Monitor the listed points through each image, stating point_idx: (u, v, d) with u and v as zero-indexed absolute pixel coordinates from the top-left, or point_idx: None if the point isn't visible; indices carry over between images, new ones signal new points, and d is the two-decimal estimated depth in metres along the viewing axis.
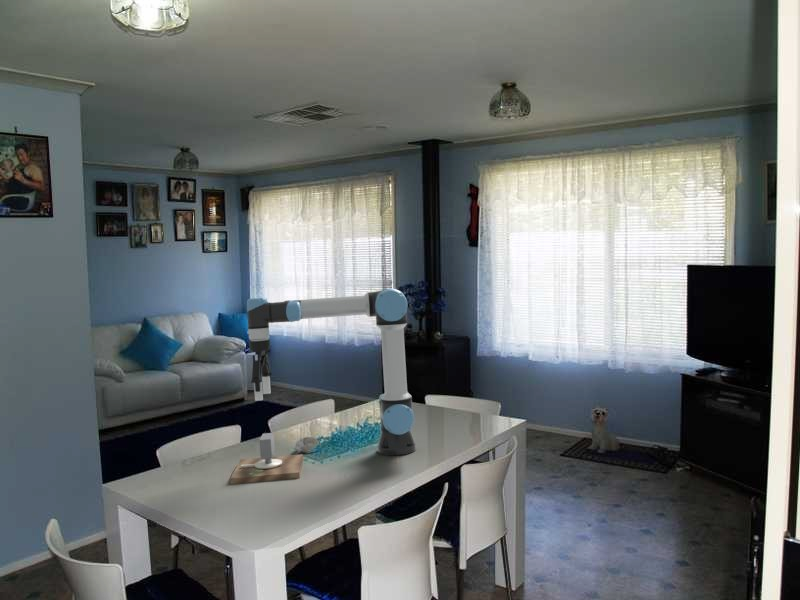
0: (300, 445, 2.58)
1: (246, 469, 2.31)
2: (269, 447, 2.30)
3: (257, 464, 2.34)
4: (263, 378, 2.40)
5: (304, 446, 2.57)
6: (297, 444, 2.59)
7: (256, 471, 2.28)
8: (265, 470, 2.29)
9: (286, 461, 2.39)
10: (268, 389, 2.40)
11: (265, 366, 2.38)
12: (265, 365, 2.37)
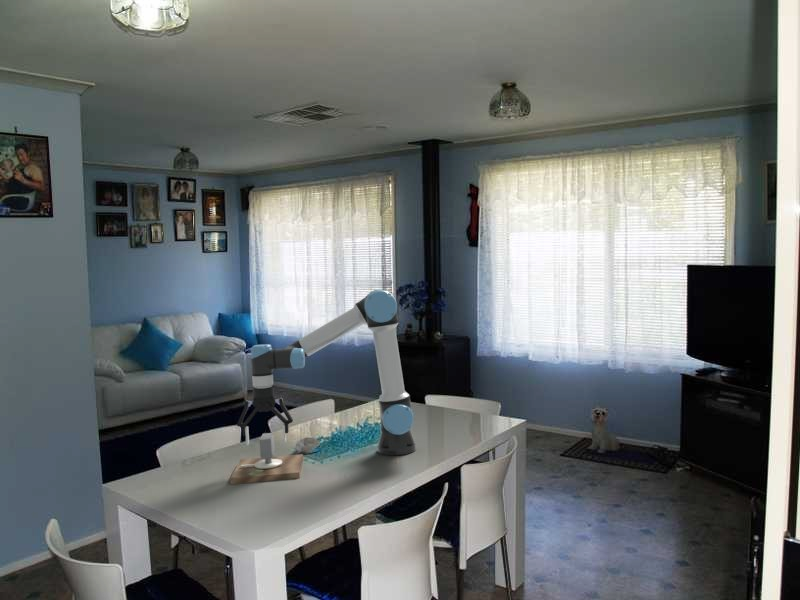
0: (300, 445, 2.58)
1: (246, 469, 2.31)
2: (269, 447, 2.30)
3: (257, 464, 2.34)
4: (283, 425, 2.36)
5: (304, 446, 2.57)
6: (297, 444, 2.58)
7: (256, 471, 2.28)
8: (265, 470, 2.29)
9: (286, 461, 2.39)
10: (283, 438, 2.35)
11: (275, 414, 2.34)
12: (274, 413, 2.34)
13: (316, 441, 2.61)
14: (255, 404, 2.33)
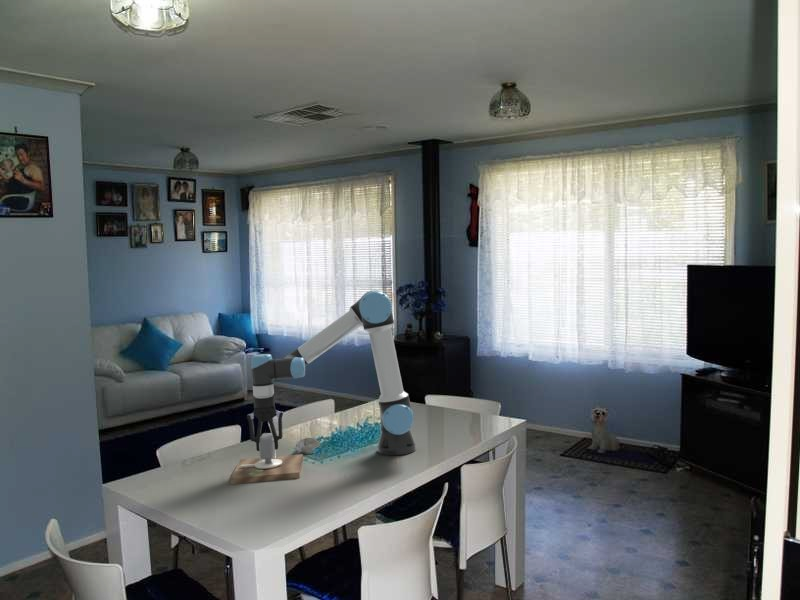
0: (300, 446, 2.57)
1: (246, 469, 2.31)
2: (269, 447, 2.30)
3: (257, 464, 2.34)
4: None
5: (304, 447, 2.56)
6: (297, 445, 2.58)
7: (256, 471, 2.28)
8: (265, 470, 2.29)
9: (286, 461, 2.39)
10: (273, 454, 2.35)
11: (270, 426, 2.34)
12: None
13: (316, 441, 2.60)
14: (257, 414, 2.33)
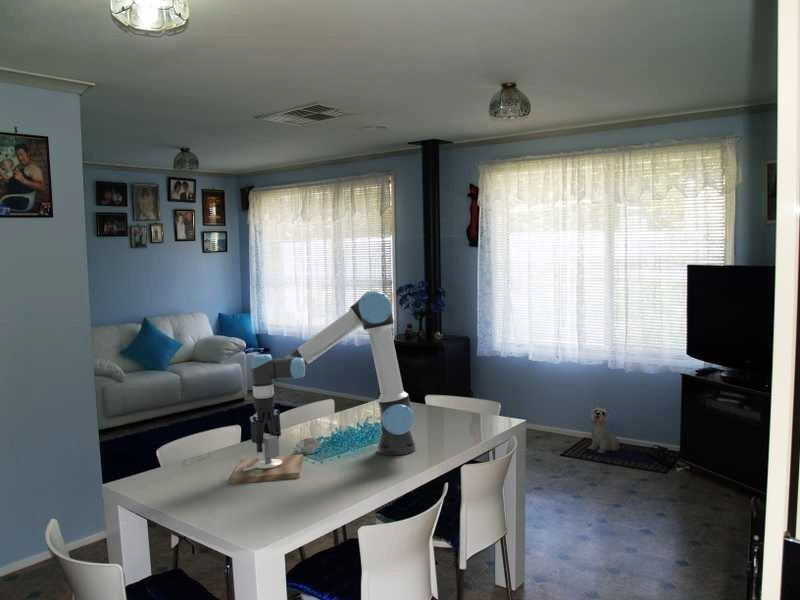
0: (300, 446, 2.57)
1: None
2: (277, 445, 2.32)
3: (260, 465, 2.32)
4: None
5: (304, 447, 2.56)
6: (297, 445, 2.57)
7: (256, 471, 2.28)
8: (265, 470, 2.29)
9: (286, 461, 2.39)
10: None
11: (271, 425, 2.36)
12: (270, 424, 2.36)
13: (316, 442, 2.59)
14: (261, 414, 2.32)
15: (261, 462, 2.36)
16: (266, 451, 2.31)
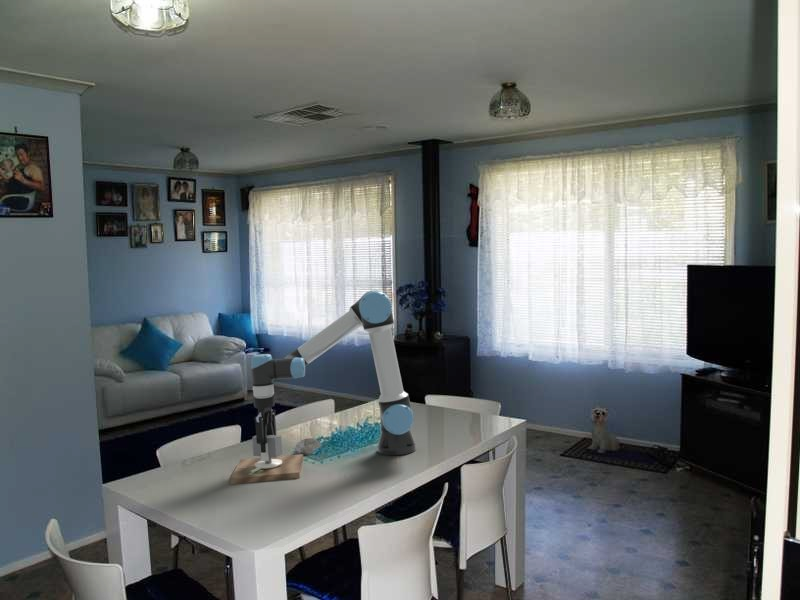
0: (300, 446, 2.56)
1: (246, 469, 2.31)
2: (280, 444, 2.34)
3: (264, 466, 2.31)
4: None
5: (304, 447, 2.55)
6: (297, 445, 2.57)
7: (256, 471, 2.28)
8: (265, 470, 2.29)
9: (286, 461, 2.39)
10: None
11: (269, 425, 2.36)
12: (269, 423, 2.36)
13: (316, 442, 2.59)
14: (264, 414, 2.32)
15: (260, 463, 2.35)
16: (271, 450, 2.32)
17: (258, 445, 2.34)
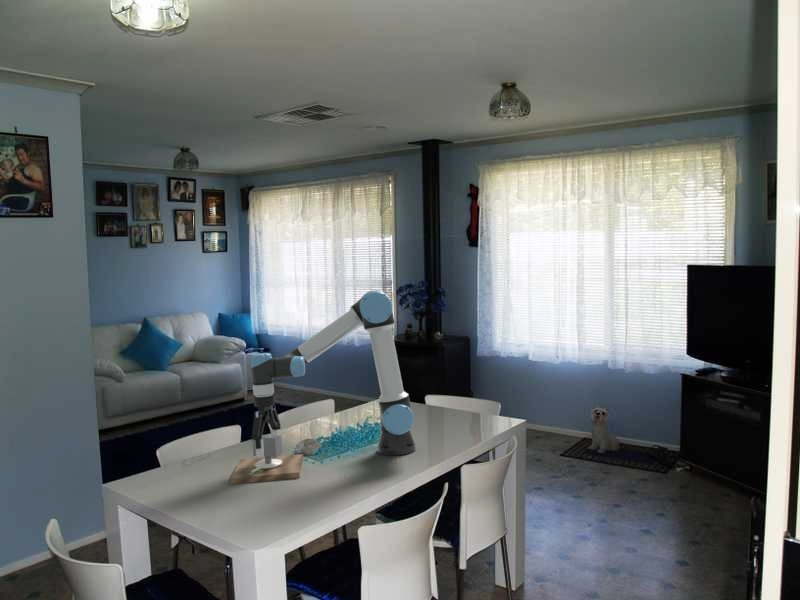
0: (300, 447, 2.56)
1: (246, 469, 2.31)
2: (280, 443, 2.34)
3: (264, 466, 2.31)
4: (271, 431, 2.41)
5: (304, 448, 2.55)
6: (297, 446, 2.56)
7: (256, 471, 2.28)
8: (265, 470, 2.29)
9: (286, 461, 2.39)
10: None
11: (272, 420, 2.38)
12: (272, 419, 2.38)
13: (316, 442, 2.58)
14: (264, 413, 2.31)
15: (260, 463, 2.35)
16: (271, 450, 2.32)
17: None
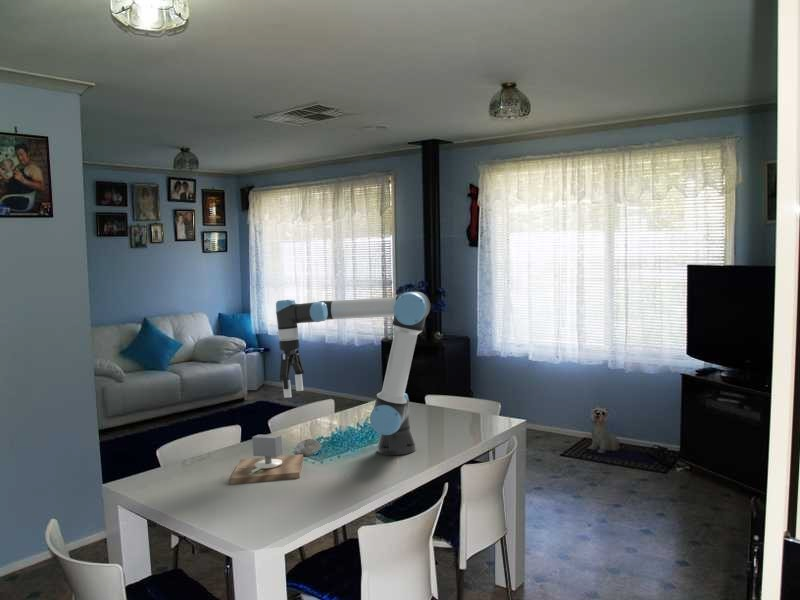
0: (300, 447, 2.55)
1: (246, 469, 2.31)
2: (280, 443, 2.34)
3: (264, 466, 2.31)
4: (296, 376, 2.52)
5: (304, 448, 2.54)
6: (298, 446, 2.56)
7: (256, 471, 2.28)
8: (265, 470, 2.29)
9: (286, 461, 2.39)
10: (300, 387, 2.51)
11: (296, 364, 2.49)
12: (296, 363, 2.48)
13: (317, 443, 2.57)
14: (290, 356, 2.42)
15: (260, 463, 2.35)
16: (271, 450, 2.32)
17: (258, 445, 2.34)
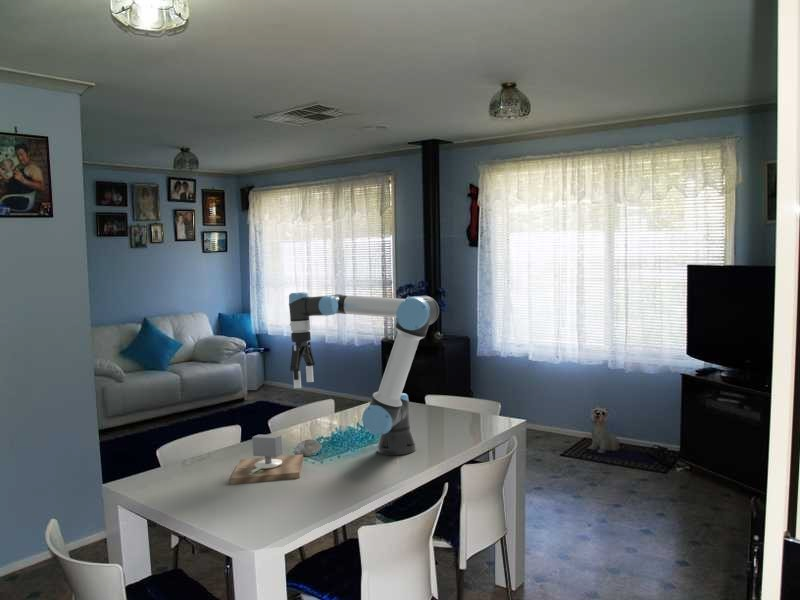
0: (300, 447, 2.54)
1: (246, 469, 2.31)
2: (280, 443, 2.34)
3: (264, 466, 2.31)
4: (306, 367, 2.57)
5: (304, 449, 2.53)
6: (298, 446, 2.55)
7: (256, 471, 2.28)
8: (265, 470, 2.29)
9: (286, 461, 2.39)
10: (311, 378, 2.57)
11: (307, 356, 2.54)
12: (307, 355, 2.54)
13: (317, 443, 2.57)
14: (301, 348, 2.47)
15: (260, 463, 2.35)
16: (271, 450, 2.32)
17: (258, 445, 2.34)
